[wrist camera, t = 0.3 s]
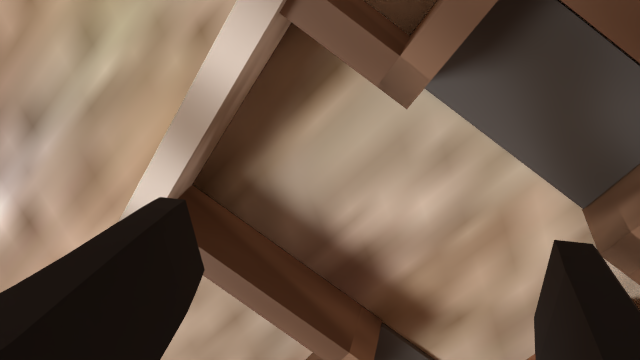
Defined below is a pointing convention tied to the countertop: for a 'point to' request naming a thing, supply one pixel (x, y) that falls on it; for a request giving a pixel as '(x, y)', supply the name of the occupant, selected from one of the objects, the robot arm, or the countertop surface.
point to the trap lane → (404, 86)
